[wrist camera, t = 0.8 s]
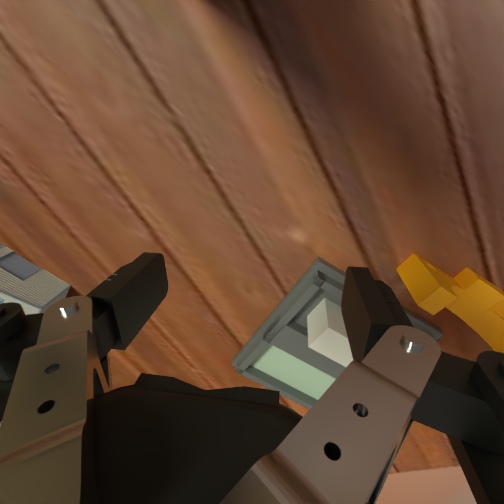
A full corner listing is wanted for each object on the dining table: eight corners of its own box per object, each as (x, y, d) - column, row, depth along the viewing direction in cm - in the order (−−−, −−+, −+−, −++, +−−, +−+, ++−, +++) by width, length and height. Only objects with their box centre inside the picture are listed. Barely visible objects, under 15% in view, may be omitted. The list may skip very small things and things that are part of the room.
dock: (318, 257, 31) (322, 287, 26) (440, 329, 33) (466, 371, 28) (232, 359, 41) (223, 395, 36) (328, 408, 44) (332, 450, 38)
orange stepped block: (510, 295, 30) (559, 339, 24) (474, 318, 32) (512, 364, 26) (426, 239, 28) (458, 273, 23) (395, 268, 30) (417, 305, 25)
